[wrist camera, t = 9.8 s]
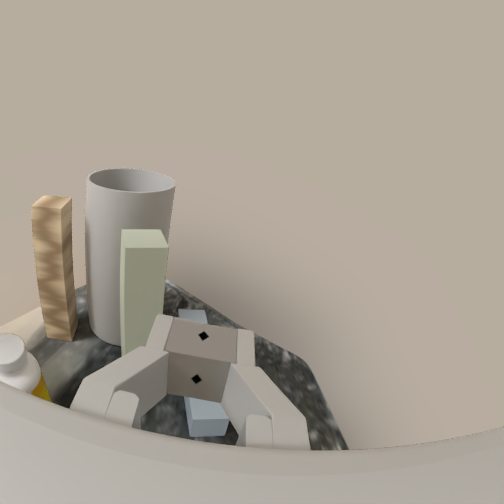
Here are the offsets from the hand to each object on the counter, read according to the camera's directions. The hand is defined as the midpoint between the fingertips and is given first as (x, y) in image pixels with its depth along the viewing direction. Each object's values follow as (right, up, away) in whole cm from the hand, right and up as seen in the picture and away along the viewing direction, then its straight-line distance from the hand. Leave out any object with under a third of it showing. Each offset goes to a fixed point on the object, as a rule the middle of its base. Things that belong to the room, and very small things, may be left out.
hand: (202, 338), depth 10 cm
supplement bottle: (-26, -18, +20) cm, 38 cm away
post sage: (-14, -15, +32) cm, 38 cm away
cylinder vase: (-20, -10, +42) cm, 47 cm away
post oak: (-29, -10, +36) cm, 47 cm away
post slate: (-4, -19, +25) cm, 32 cm away
